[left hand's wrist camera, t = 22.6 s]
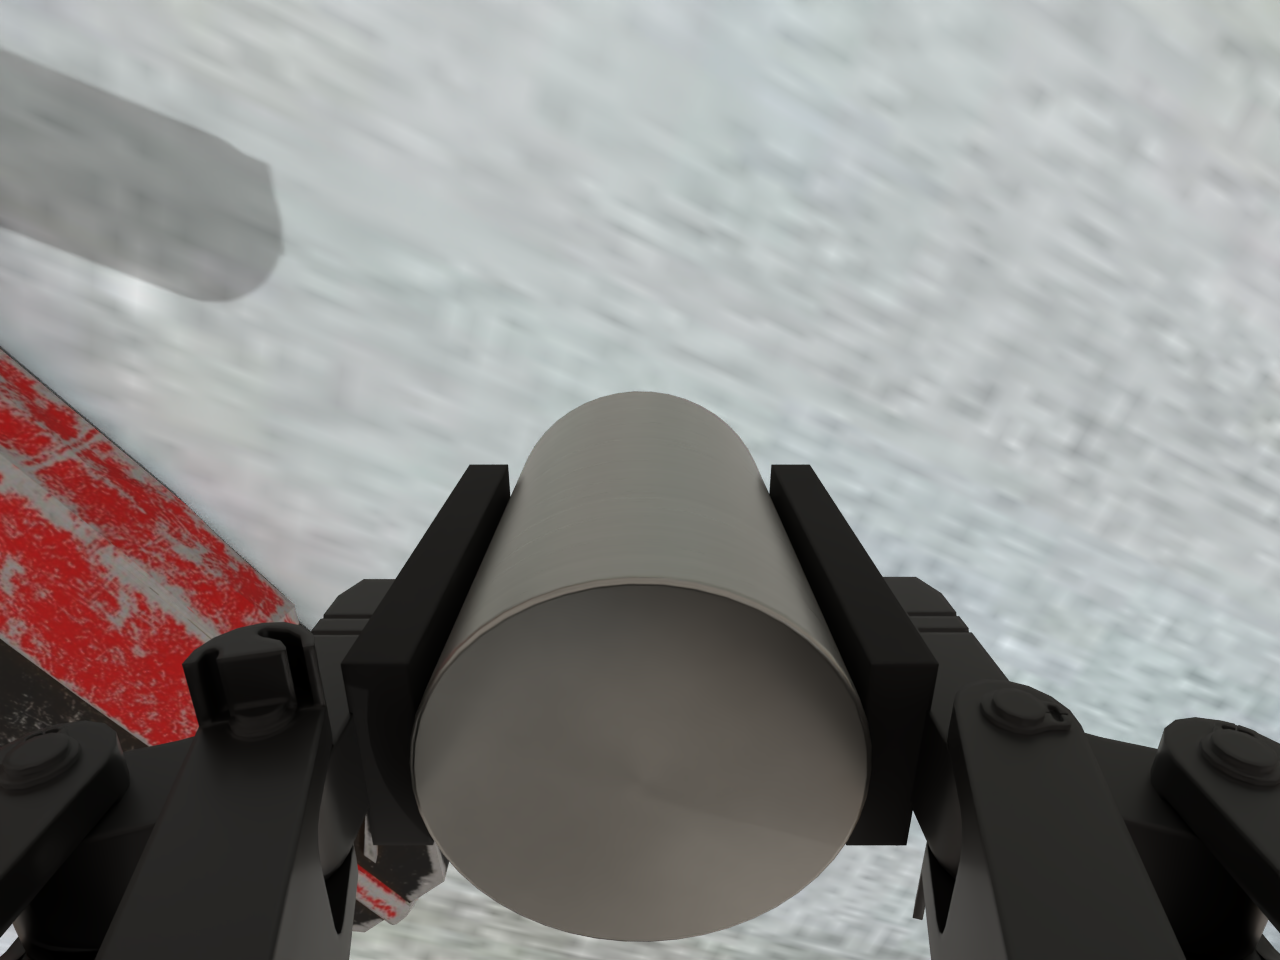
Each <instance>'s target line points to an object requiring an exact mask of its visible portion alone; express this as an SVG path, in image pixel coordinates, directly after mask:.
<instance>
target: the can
mask: <svg viewBox="0 0 1280 960" xmlns="http://www.w3.org/2000/svg"><path fill="white" fill-rule="evenodd" d="M871 759H872V745H871V739H870V733H869V726H868V721H867V718H866V715H865V712H864V709H863V706H862V703H861V700H860V697H859V695H858V693H857V691H856V688H855V686H854V684H853V682H852V679H851V677H850V675H849V673H848V670H847V668H846V666H845V664H844V661H843V659H842V657H841V655H840V652H839V650H838V648H837V646H836V643H835V641H834V639H833V637H832V634H831V632H830V630H829V628H828V625H827V623H826V621H825V619H824V616H823V614H822V612H821V610H820V607H819V605H818V603H817V601H816V598H815V596H814V594H813V592H812V589H811V587H810V585H809V583H808V580H807V578H806V576H805V574H804V571H803V569H802V567H801V565H800V562H799V560H798V558H797V556H796V553H795V551H794V549H793V547H792V544H791V542H790V540H789V538H788V535H787V533H786V531H785V529H784V526H783V524H782V522H781V520H780V517H779V515H778V513H777V511H776V508H775V506H774V504H773V502H772V499H771V497H770V495H769V493H768V490H767V488H766V486H765V484H764V481H763V479H762V477H761V475H760V472H759V470H758V468H757V466H756V463H755V461H754V459H753V457H752V456H751V454H750V452H749V450H748V448H747V447H746V445H745V444H744V443H743V441H742V440H741V438H740V437H739V436H738V435H737V434H736V433H735V432H734V431H733V429H732V428H731V427H730V426H729V425H728V424H727V423H725V422H724V421H723V420H722V419H720V418H719V417H718V416H717V415H715V414H714V413H712V412H710V411H709V410H707V409H705V408H704V407H702V406H700V405H698V404H696V403H693V402H691V401H689V400H686V399H683V398H680V397H676V396H673V395H669V394H663V393H657V392H638V391H634V392H625V393H617V394H612V395H608V396H604V397H600V398H598V399H595V400H592V401H590V402H587V403H585V404H583V405H581V406H579V407H577V408H576V409H574V410H572V411H570V412H569V413H567V414H566V415H565V416H563V417H562V418H560V419H559V420H558V421H557V422H555V423H554V424H553V425H552V426H551V427H550V428H549V429H548V430H547V431H546V432H545V433H544V435H543V436H542V437H541V438H540V440H539V441H538V442H537V443H536V445H535V446H534V448H533V450H532V452H531V453H530V455H529V457H528V459H527V461H526V463H525V465H524V468H523V470H522V472H521V474H520V477H519V479H518V481H517V484H516V486H515V488H514V490H513V493H512V495H511V497H510V499H509V502H508V504H507V506H506V508H505V511H504V513H503V515H502V518H501V520H500V522H499V524H498V527H497V529H496V531H495V533H494V536H493V538H492V540H491V542H490V545H489V547H488V549H487V552H486V554H485V556H484V558H483V561H482V563H481V565H480V567H479V570H478V572H477V574H476V576H475V579H474V581H473V583H472V585H471V588H470V590H469V592H468V595H467V597H466V599H465V601H464V604H463V606H462V608H461V610H460V613H459V615H458V617H457V619H456V622H455V624H454V626H453V629H452V631H451V633H450V635H449V638H448V640H447V642H446V644H445V647H444V649H443V651H442V653H441V656H440V658H439V660H438V663H437V665H436V667H435V669H434V672H433V674H432V676H431V678H430V681H429V683H428V685H427V687H426V690H425V692H424V695H423V697H422V700H421V702H420V705H419V707H418V710H417V712H416V715H415V720H414V724H413V729H412V734H411V739H410V761H409V763H410V771H411V779H412V787H413V792H414V795H415V798H416V802H417V805H418V809H419V812H420V814H421V816H422V819H423V821H424V823H425V825H426V827H427V829H428V831H429V834H430V835H431V837H432V838H433V840H434V841H435V843H436V844H437V846H438V847H439V849H440V850H441V852H442V853H443V855H444V856H445V857H446V858H447V859H448V860H449V861H450V863H451V864H452V865H453V866H454V867H455V868H456V869H457V871H458V872H459V873H460V874H462V875H463V876H464V877H465V878H466V879H467V880H468V881H469V882H471V883H472V884H473V885H474V886H475V887H476V888H477V889H479V890H480V891H482V892H483V893H484V894H486V895H487V896H489V897H490V898H492V899H493V900H494V901H496V902H497V903H499V904H501V905H503V906H504V907H506V908H508V909H510V910H512V911H514V912H515V913H517V914H519V915H521V916H523V917H526V918H528V919H531V920H533V921H535V922H538V923H540V924H543V925H545V926H548V927H552V928H555V929H558V930H562V931H565V932H568V933H572V934H577V935H582V936H587V937H592V938H598V939H607V940H616V941H643V942H651V941H664V940H677V939H683V938H688V937H694V936H700V935H705V934H709V933H712V932H716V931H720V930H723V929H727V928H730V927H733V926H735V925H738V924H741V923H743V922H746V921H749V920H751V919H754V918H756V917H758V916H760V915H762V914H764V913H766V912H768V911H770V910H772V909H774V908H776V907H777V906H779V905H780V904H782V903H783V902H785V901H787V900H788V899H790V898H791V897H793V896H794V895H796V894H797V893H799V892H800V891H801V890H802V889H804V888H805V887H806V886H807V885H808V884H810V883H811V882H812V881H813V880H814V879H816V878H817V877H818V876H819V875H820V874H821V873H822V872H823V871H824V869H825V868H826V867H827V866H828V865H829V864H830V863H831V862H832V861H833V860H834V859H835V857H836V856H837V855H838V853H839V852H840V850H841V849H842V848H843V846H844V845H845V844H846V842H847V841H848V839H849V837H850V835H851V833H852V831H853V830H854V828H855V826H856V824H857V822H858V820H859V818H860V815H861V812H862V809H863V806H864V803H865V800H866V798H867V792H868V787H869V781H870V775H871Z"/></svg>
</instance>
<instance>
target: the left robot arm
mask: <svg viewBox="0 0 1280 960" xmlns="http://www.w3.org/2000/svg"><path fill="white" fill-rule="evenodd" d="M769 495H770V497H771V499H772V502H773V504H774V506H775V508H776V511H777V513H778V515H779V517H780V520H781V522H782V524H783V526H784V529H785V531H786V533H787V535H788V538H789V540H790V542H791V544H792V547H793V549H794V551H795V553H796V556H797V558H798V560H799V562H800V565H801V567H802V569H803V571H804V574H805V576H806V578H807V580H808V583H809V585H810V587H811V589H812V592H813V594H814V596H815V598H816V601H817V603H818V605H819V607H820V610H821V612H822V614H823V616H824V619H825V621H826V623H827V625H828V628H829V630H830V632H831V634H832V637H833V639H834V641H835V643H836V646H837V648H838V650H839V652H840V655H841V657H842V659H843V661H844V664H845V666H846V668H847V670H848V673H849V675H850V677H851V679H852V682H853V684H854V686H855V688H856V691H857V693H858V695H859V697H860V700H861V703H862V706H863V709H864V712H865V715H866V718H867V721H868V726H869V733H870V739H871V745H872V759H871V775H870V781H869V787H868V792H867V798H866V800H865V803H864V806H863V809H862V812H861V815H860V818H859V820H858V822H857V824H856V826H855V828H854V830H853V831H852V833H851V835H850V837H849V839H848V841H847V842H846V845H907V839H908V833H909V828H910V822H911V817H912V811H914V814H915V816H916V818H917V820H918V822H919V825H920V827H921V829H922V831H923V834H924V836H925V838H926V840H927V843H926V848H925V854H924V859H923V864H922V869H921V874H920V879H919V885H918V890H917V895H916V900H915V906H914V913H913V918H916V919H920V920H922V919H923V914H924V910H925V908H926V917H927V926H928V935H929V944H930V953H931V960H1280V953H1279V952H1278V951H1276V950H1275V949H1274V947H1273V946H1272V945H1271V944H1270V942H1269V941H1268V940H1267V939H1266V938H1265V936H1264V935H1263V934H1262V933H1263V931H1264V928H1265V926H1266V924H1267V922H1268V920H1269V921H1270V922H1271V923H1272V924H1273V926H1274V927H1275V928H1276V929H1277V930H1278V931H1279V933H1280V744H1279V743H1277V742H1275V741H1273V740H1271V739H1269V738H1267V737H1265V736H1263V735H1261V734H1259V733H1257V732H1256V731H1254V730H1251V729H1249V728H1246V727H1243V726H1240V725H1238V726H1237V725H1235V724H1233V723H1229V722H1225V721H1220V720H1213V719H1205V718H1197V717H1193V718H1186V719H1178V720H1175V721H1173V722H1172V723H1171V724H1169V725H1168V726H1167V727H1166V728H1164V731H1163V734H1162V737H1161V741H1160V744H1159V747H1158V749H1155V748H1150V747H1145V746H1141V745H1136V744H1131V743H1126V742H1121V741H1117V740H1112V739H1107V738H1102V737H1098V736H1095V735H1091V734H1087V733H1084V730H1083V728H1082V726H1081V724H1080V723H1079V722H1078V720H1077V719H1076V718H1075V716H1074V715H1073V714H1072V712H1071V711H1070V710H1069V709H1068V708H1066V707H1065V706H1064V705H1062V704H1061V703H1059V702H1058V701H1057V700H1055V699H1054V698H1053V697H1051V696H1049V695H1047V694H1045V693H1043V692H1040V691H1038V690H1036V689H1034V688H1032V687H1030V686H1026V685H1022V684H1018V683H1014V682H1010V681H1009V680H1008V679H1007V677H1006V676H1005V675H1004V674H1003V672H1002V671H1001V670H1000V668H999V667H998V666H997V664H996V663H995V662H994V661H993V659H992V658H991V657H990V655H989V654H988V653H987V652H986V650H985V649H984V648H983V646H982V645H981V644H980V642H979V641H978V640H977V639H976V637H975V636H974V635H973V633H972V632H969V628H968V627H967V626H966V624H965V623H964V622H963V621H962V619H961V618H960V617H959V616H956V611H955V610H954V609H953V608H952V606H951V605H950V604H949V602H948V601H947V600H946V599H945V597H944V596H943V595H942V593H940V592H939V591H937V590H936V589H934V588H932V587H931V586H929V585H928V584H926V583H925V582H923V581H922V580H920V579H918V578H917V577H882V575H881V574H880V572H879V571H878V569H877V568H876V566H875V564H874V563H873V561H872V560H871V558H870V557H869V555H868V554H867V552H866V551H865V549H864V548H863V546H862V544H861V543H860V541H859V540H858V538H857V537H856V535H855V534H854V532H853V531H852V529H851V527H850V526H849V524H848V523H847V521H846V520H845V518H844V517H843V515H842V514H841V512H840V511H839V509H838V507H837V506H836V504H835V503H834V501H833V500H832V498H831V497H830V495H829V494H828V492H827V491H826V489H825V487H824V486H823V484H822V483H821V481H820V480H819V478H818V477H817V475H816V474H815V472H814V470H813V469H812V467H811V466H810V465H771V479H770V493H769ZM509 499H510V486H509V471H508V465H469V467H468V468H467V470H466V471H465V473H464V474H463V476H462V477H461V479H460V481H459V482H458V484H457V485H456V487H455V488H454V490H453V491H452V493H451V494H450V496H449V497H448V499H447V501H446V502H445V504H444V505H443V507H442V508H441V510H440V511H439V513H438V514H437V516H436V517H435V519H434V521H433V522H432V524H431V525H430V527H429V528H428V530H427V531H426V533H425V534H424V536H423V538H422V539H421V541H420V542H419V544H418V545H417V547H416V548H415V550H414V551H413V553H412V554H411V556H410V558H409V559H408V561H407V562H406V564H405V565H404V567H403V568H402V570H401V571H400V573H399V574H398V576H397V578H396V579H363V580H362V581H360V582H359V583H357V584H356V585H354V586H353V587H351V588H350V589H348V590H346V591H345V592H343V593H342V594H340V595H339V596H338V597H337V598H336V599H335V601H334V602H333V603H332V605H331V606H330V607H329V609H328V610H327V611H326V613H325V614H324V618H323V619H320V620H319V622H318V623H317V624H316V626H315V627H314V628H313V629H312V631H311V632H310V631H309V630H307V629H306V628H305V627H304V626H302V625H297V624H292V623H288V622H267V623H259V624H254V625H249V626H245V627H240V628H237V629H234V630H232V631H229V632H227V633H224V634H222V635H219V636H216V637H214V638H212V639H211V640H209V641H208V642H206V643H204V644H203V645H201V646H200V647H198V648H197V649H195V650H194V651H193V652H192V653H191V654H190V655H189V656H188V658H187V659H186V660H185V661H184V662H183V663H182V667H183V670H184V674H185V678H186V681H187V685H188V688H189V692H190V696H191V699H192V703H193V706H194V710H195V714H196V717H197V721H198V725H199V727H198V730H197V732H196V734H195V736H193V737H189V738H186V739H182V740H178V741H173V742H169V743H164V744H159V745H154V746H150V747H145V748H140V749H135V750H131V751H126V752H122V749H121V746H120V742H119V739H118V736H117V733H116V731H114V730H113V729H112V728H111V727H109V726H108V725H107V724H105V723H100V722H93V721H78V722H70V723H62V724H57V725H53V726H49V727H46V728H44V729H42V728H41V729H39V730H36V731H33V732H30V733H28V734H26V735H24V736H23V737H21V738H19V739H17V740H14V741H12V742H10V743H8V744H6V745H4V746H2V747H0V937H1V936H2V935H3V934H4V933H5V932H6V930H7V929H8V928H9V927H10V926H11V924H12V923H13V925H14V928H15V930H16V932H17V934H18V938H17V939H16V940H15V941H14V943H13V944H12V945H11V946H10V947H9V949H8V950H7V951H6V952H5V953H4V954H3V955H2V956H1V957H0V960H349V955H350V946H351V937H352V928H353V919H354V910H355V901H356V892H357V883H358V874H359V873H358V866H357V859H356V854H355V848H354V841H355V838H356V836H357V834H358V832H359V829H360V827H361V825H362V823H363V821H364V818H365V816H366V814H368V820H369V825H370V831H371V836H372V842H373V845H433V844H434V840H433V838H432V837H431V835H430V834H429V831H428V829H427V827H426V825H425V823H424V821H423V819H422V816H421V814H420V812H419V809H418V805H417V802H416V798H415V795H414V792H413V787H412V779H411V771H410V763H409V761H410V739H411V734H412V729H413V724H414V720H415V715H416V712H417V710H418V707H419V705H420V702H421V700H422V697H423V695H424V692H425V690H426V687H427V685H428V683H429V681H430V678H431V676H432V674H433V672H434V669H435V667H436V665H437V663H438V660H439V658H440V656H441V653H442V651H443V649H444V647H445V644H446V642H447V640H448V638H449V635H450V633H451V631H452V629H453V626H454V624H455V622H456V619H457V617H458V615H459V613H460V610H461V608H462V606H463V604H464V601H465V599H466V597H467V595H468V592H469V590H470V588H471V585H472V583H473V581H474V579H475V576H476V574H477V572H478V570H479V567H480V565H481V563H482V561H483V558H484V556H485V554H486V552H487V549H488V547H489V545H490V542H491V540H492V538H493V536H494V533H495V531H496V529H497V527H498V524H499V522H500V520H501V518H502V515H503V513H504V511H505V508H506V506H507V504H508V502H509Z"/></svg>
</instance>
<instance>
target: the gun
mask: <svg viewBox="0 0 1280 960" xmlns="http://www.w3.org/2000/svg"><path fill="white" fill-rule="evenodd" d="M267 622H288V623H292V624H297V625H301V624H300V623H299V621H298V617H297V614H296V611H295V607H294V604H293V603H292V602H290V601H289V600H288V599H287V598H286V597H285V596H284V595H283V594H282V593H280V592H279V591H278V590H277V589H276V588H275V587H274V586H273V585H272V584H270V583H269V582H268V581H267V580H266V579H265V578H264V577H263V576H261V575H260V574H259V573H258V572H257V571H256V570H255V569H254V568H253V567H251V566H250V565H249V564H248V563H247V562H246V561H245V560H244V559H243V558H241V557H240V556H239V555H238V554H237V553H236V552H235V551H234V550H233V549H232V548H231V547H230V546H228V545H227V544H226V543H225V542H224V541H223V540H222V539H221V538H220V537H219V536H218V535H217V534H216V533H215V532H214V531H213V530H212V529H211V528H210V527H209V526H208V525H207V524H206V523H205V522H203V521H202V520H201V519H200V518H199V517H198V516H197V515H196V514H195V513H194V512H193V511H192V510H191V509H190V508H189V507H188V506H187V505H186V504H185V503H184V502H182V501H181V500H180V499H179V498H178V497H176V496H175V495H174V494H173V493H172V492H170V491H169V490H168V489H167V488H166V487H165V486H163V485H162V484H161V483H160V482H159V481H157V480H156V479H155V478H154V477H153V476H151V475H150V474H149V473H148V472H147V471H145V470H144V469H143V468H142V467H141V466H139V465H138V464H137V463H136V462H135V461H134V460H132V459H131V458H130V457H129V456H128V455H126V454H125V453H124V452H123V451H122V450H120V449H119V448H118V447H117V446H116V445H114V444H113V443H112V442H111V441H110V440H108V439H107V438H106V437H105V436H104V435H103V434H101V433H100V432H99V431H98V430H97V429H95V428H94V427H93V426H92V425H91V424H89V423H88V422H87V421H86V420H85V419H83V418H82V417H81V416H80V415H79V414H78V413H76V412H75V411H74V410H73V409H72V408H70V407H69V406H68V405H67V404H66V403H64V402H63V401H62V400H61V399H60V398H58V397H57V396H56V395H55V394H54V393H52V392H51V391H50V390H49V389H48V388H47V387H45V386H44V385H43V384H42V383H41V382H39V381H38V380H37V379H36V378H35V377H33V376H32V375H31V374H30V373H29V372H27V371H26V370H25V369H24V368H23V367H21V366H20V365H19V364H18V363H17V362H16V361H14V360H13V359H12V358H11V357H10V356H8V355H7V354H6V353H5V352H4V351H2V350H1V349H0V747H2V746H4V745H6V744H8V743H10V742H12V741H14V740H17V739H19V738H21V737H23V736H24V735H26V734H28V733H30V732H33V731H36V730H39V729H41V728H42V729H44V728H46V727H49V726H53V725H57V724H62V723H70V722H78V721H93V722H100V723H105V724H107V725H108V726H109V727H111V728H112V729H113V730H114V731H116V733H117V736H118V739H119V742H120V746H121V749H122V752H126V751H131V750H135V749H140V748H145V747H150V746H154V745H159V744H164V743H169V742H173V741H178V740H182V739H186V738H189V737H193V736H195V734H196V732H197V730H198V727H199V725H198V721H197V717H196V714H195V710H194V706H193V703H192V699H191V696H190V692H189V688H188V685H187V681H186V678H185V674H184V670H183V667H182V663H183V662H184V661H185V660H186V659H187V658H188V656H189V655H190V654H191V653H192V652H193V651H194V650H195V649H197V648H198V647H200V646H201V645H203V644H204V643H206V642H208V641H209V640H211V639H212V638H214V637H216V636H219V635H222V634H224V633H227V632H229V631H232V630H234V629H237V628H240V627H245V626H249V625H254V624H259V623H267ZM354 848H355V854H356V859H357V866H358V873H359V874H358V883H357V892H356V901H355V910H354V919H353V928H352V931H357V932H366V931H367V930H369V929H370V928H372V927H374V926H375V925H377V924H378V923H380V922H381V921H383V920H385V921H387V922H388V923H390V924H392V925H395V924H397V923H398V922H400V921H401V920H402V919H404V918H405V917H406V916H407V915H408V913H409V912H410V910H411V909H412V908H413V906H414V905H415V903H416V902H417V900H418V898H419V897H420V896H422V895H423V894H425V893H426V892H428V891H430V890H431V889H433V888H434V887H436V886H437V885H439V884H440V883H442V882H444V879H445V876H446V872H447V868H448V864H449V860H448V859H447V858H446V857H445V856H444V855H443V853H442V852H441V850H440V849H439V847H438V846H437V844H436V843H435V841H434V844H433V845H373V842H372V836H371V831H370V825H369V820H368V814H366V816H365V818H364V821H363V823H362V825H361V827H360V829H359V832H358V834H357V836H356V838H355V841H354Z"/></svg>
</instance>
